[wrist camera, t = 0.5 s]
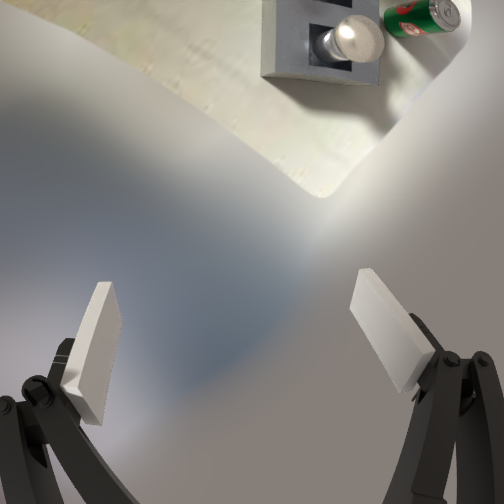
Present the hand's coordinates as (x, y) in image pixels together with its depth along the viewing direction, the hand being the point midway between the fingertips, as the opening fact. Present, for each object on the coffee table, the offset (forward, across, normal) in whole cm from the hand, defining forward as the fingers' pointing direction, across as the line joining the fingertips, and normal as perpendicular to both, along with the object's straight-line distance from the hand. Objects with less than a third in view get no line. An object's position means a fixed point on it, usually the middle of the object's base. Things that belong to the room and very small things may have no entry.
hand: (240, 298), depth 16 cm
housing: (+27, +11, +20) cm, 36 cm away
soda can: (+27, +25, +24) cm, 44 cm away
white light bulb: (+20, +11, +16) cm, 28 cm away
